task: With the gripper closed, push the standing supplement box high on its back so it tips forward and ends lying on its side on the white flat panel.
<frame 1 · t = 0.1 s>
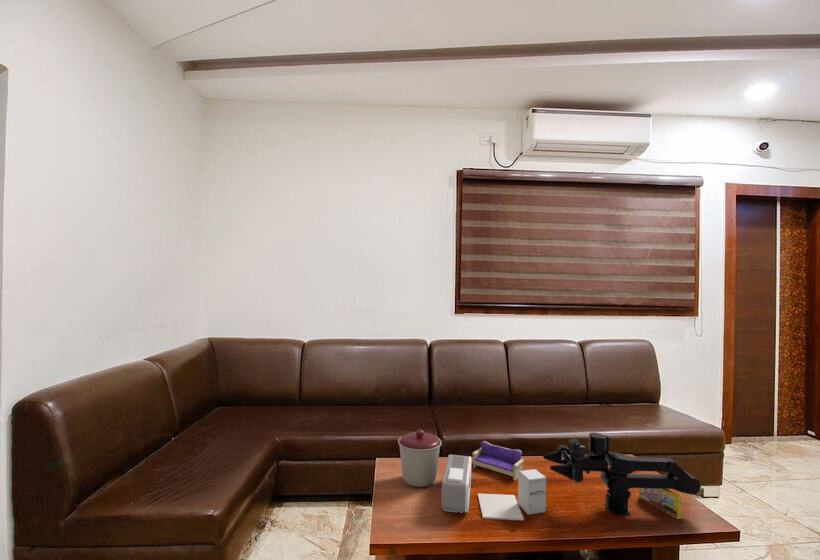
hand: (546, 462, 150), 16 cm above the table, tool horizontal, fingers open, 9 cm apart
candy box: (659, 508, 150), on the table, touching arm
grey boxy piece: (457, 497, 155), on the table
toy sofa: (497, 471, 178), on the table
white flat panel: (499, 506, 148), on the table
canister: (419, 481, 167), on the table
supplement box: (531, 509, 148), on the table
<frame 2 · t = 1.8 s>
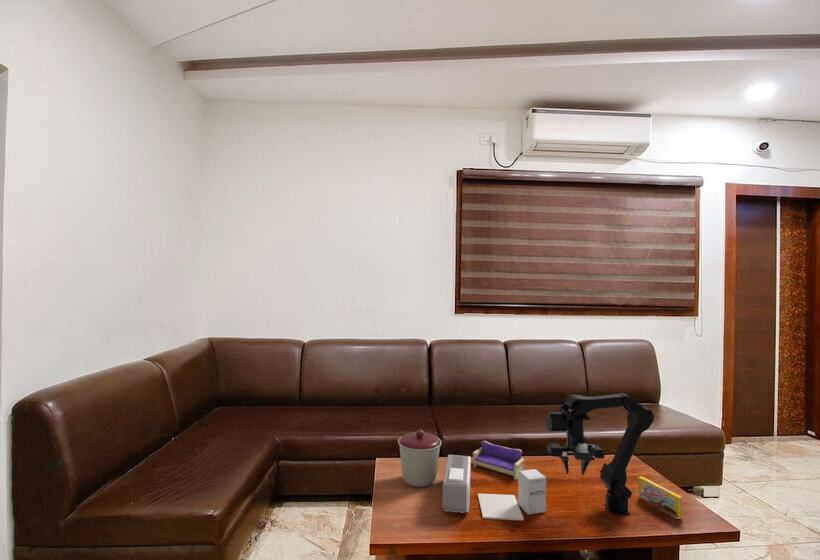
hand: (574, 474, 147), 13 cm above the table, tool pointing down, fingers open, 5 cm apart
candy box: (659, 509, 150), on the table
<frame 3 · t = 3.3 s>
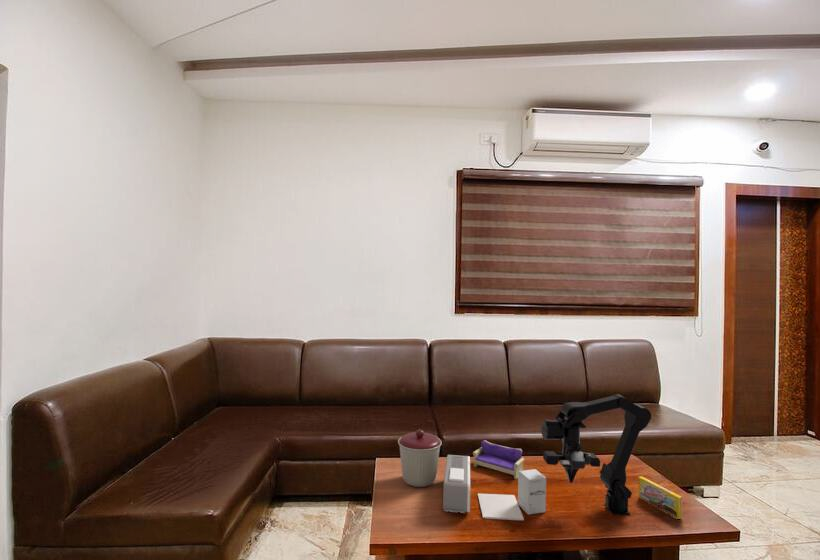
hand: (570, 482, 147), 10 cm above the table, tool pointing down, fingers closed
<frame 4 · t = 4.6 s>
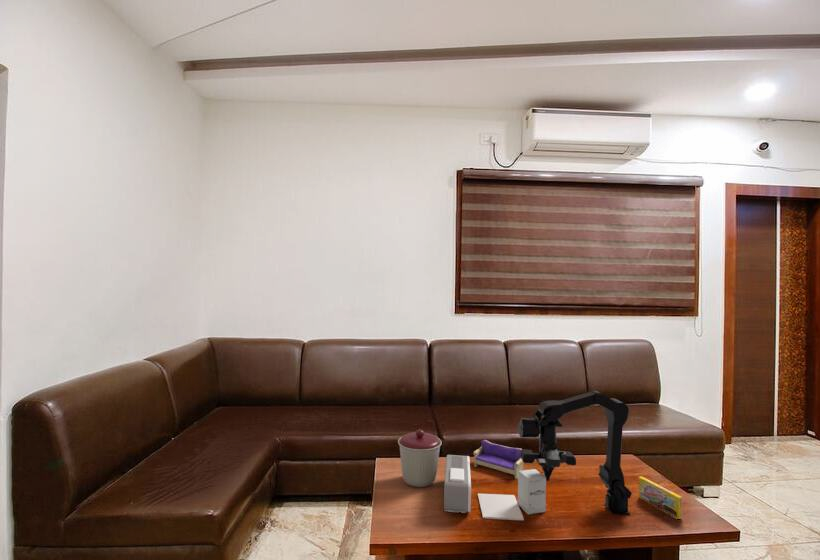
hand: (547, 480, 148), 10 cm above the table, tool pointing down, fingers closed
supplement box: (531, 509, 148), on the table, touching gripper
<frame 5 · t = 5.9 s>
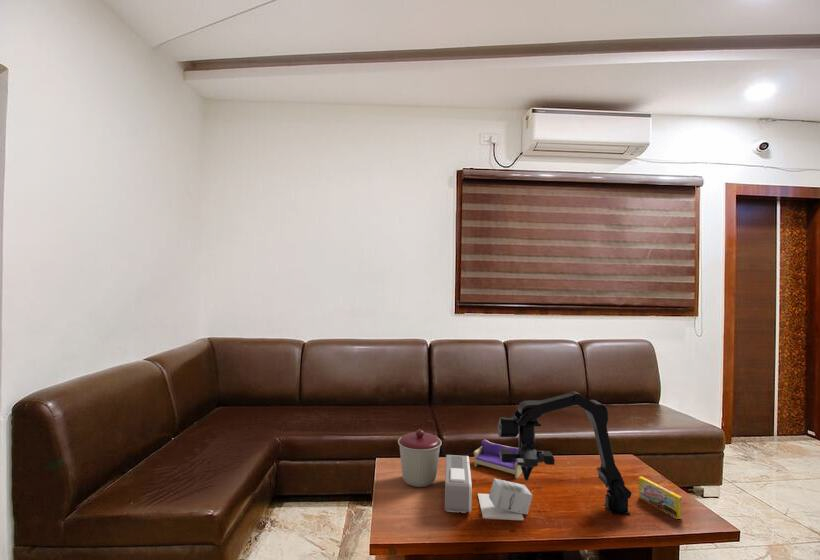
hand: (526, 480, 148), 10 cm above the table, tool pointing down, fingers closed
supplement box: (526, 499, 147), point 4 cm above the table, touching white flat panel
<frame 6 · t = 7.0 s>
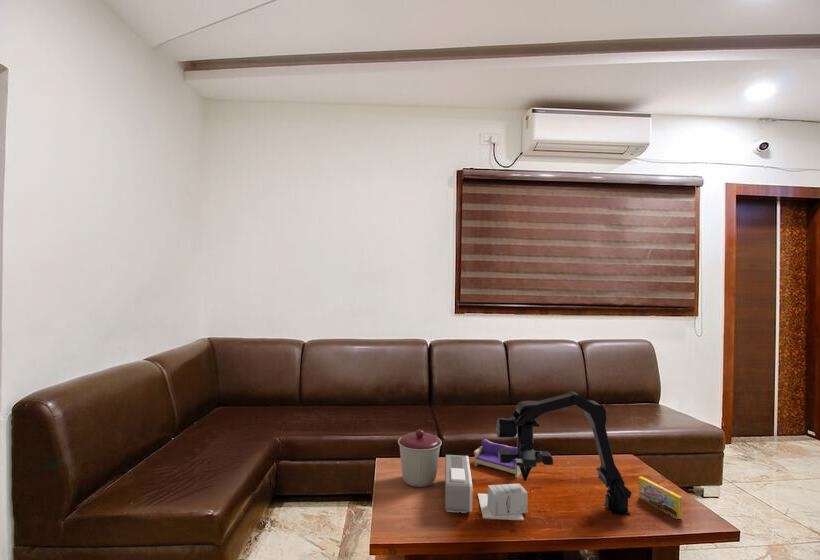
hand: (524, 480, 148), 10 cm above the table, tool pointing down, fingers closed
supplement box: (524, 497, 147), point 4 cm above the table, touching white flat panel
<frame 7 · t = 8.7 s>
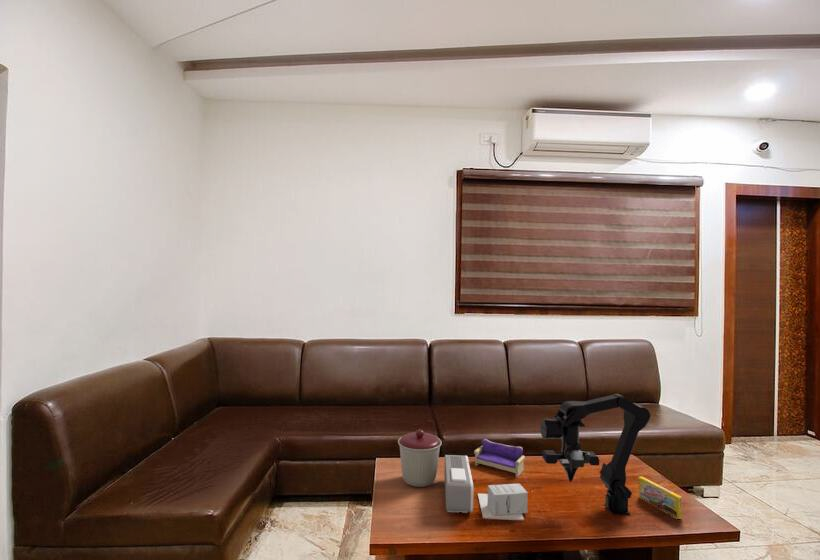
hand: (570, 481, 147), 10 cm above the table, tool pointing down, fingers closed
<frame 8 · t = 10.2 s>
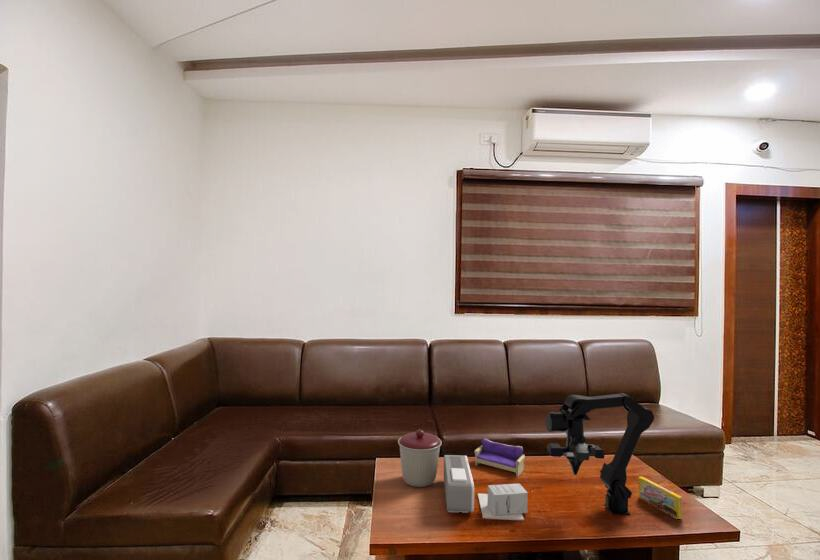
hand: (574, 474, 147), 13 cm above the table, tool pointing down, fingers closed
at the end: supplement box tilted 90°; supplement box inside the target area (2.0 cm from its centre), point 4.3 cm above the table; supplement box touching white flat panel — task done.
